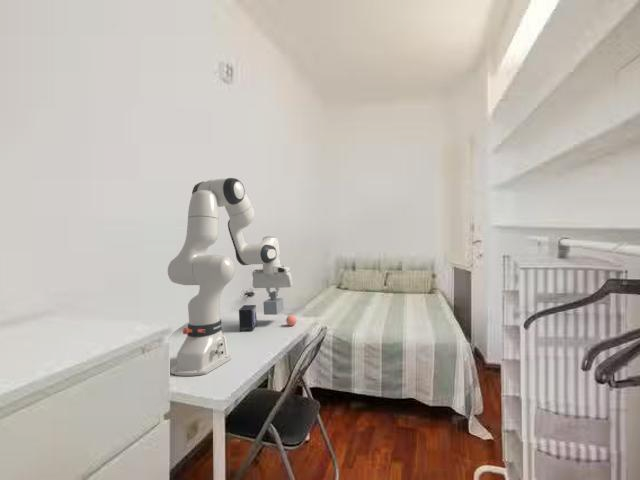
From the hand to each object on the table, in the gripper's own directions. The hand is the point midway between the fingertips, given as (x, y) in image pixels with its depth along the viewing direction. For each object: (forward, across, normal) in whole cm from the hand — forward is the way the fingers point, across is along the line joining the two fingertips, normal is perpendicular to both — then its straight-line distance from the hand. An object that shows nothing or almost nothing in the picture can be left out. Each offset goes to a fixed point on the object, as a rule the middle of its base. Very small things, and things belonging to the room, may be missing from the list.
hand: (273, 296), depth 183 cm
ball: (+11, +10, -4) cm, 15 cm away
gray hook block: (+8, 0, 0) cm, 8 cm away
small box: (+14, -10, -9) cm, 19 cm away
